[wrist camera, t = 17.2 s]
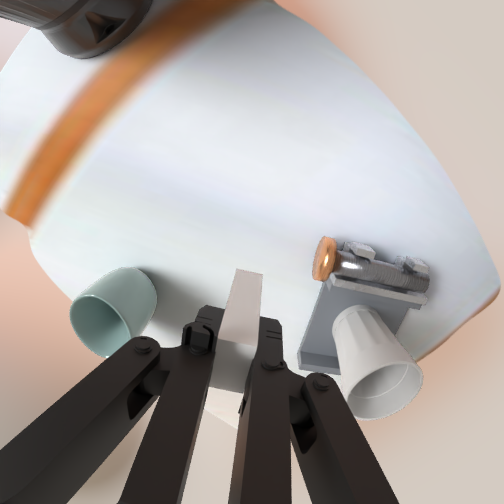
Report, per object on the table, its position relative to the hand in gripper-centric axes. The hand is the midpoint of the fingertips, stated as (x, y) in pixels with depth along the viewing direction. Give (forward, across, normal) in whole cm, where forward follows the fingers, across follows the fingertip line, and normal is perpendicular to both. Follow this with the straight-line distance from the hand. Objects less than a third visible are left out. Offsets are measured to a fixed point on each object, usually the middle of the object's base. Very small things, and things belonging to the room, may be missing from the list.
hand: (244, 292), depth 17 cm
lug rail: (+15, +15, -1) cm, 21 cm away
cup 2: (+14, +15, -9) cm, 22 cm away
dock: (+15, +15, -9) cm, 23 cm away
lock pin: (+14, +13, -1) cm, 19 cm away
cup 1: (+15, -13, -11) cm, 23 cm away
